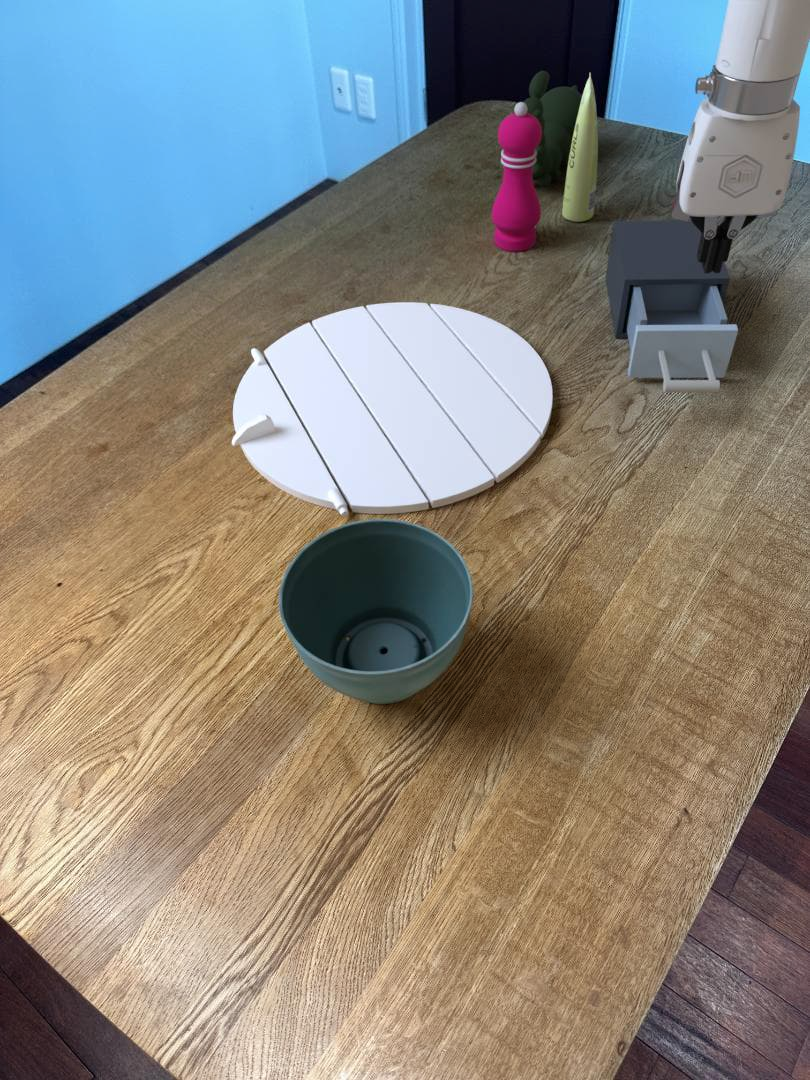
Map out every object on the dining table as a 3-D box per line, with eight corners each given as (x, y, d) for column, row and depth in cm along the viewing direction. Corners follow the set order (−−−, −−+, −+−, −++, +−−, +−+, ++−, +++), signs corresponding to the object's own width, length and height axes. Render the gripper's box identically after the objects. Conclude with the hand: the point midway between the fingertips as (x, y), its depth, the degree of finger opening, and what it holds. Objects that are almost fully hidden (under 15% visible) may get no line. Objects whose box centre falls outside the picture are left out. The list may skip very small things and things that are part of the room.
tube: (552, 213, 129) (563, 79, 115) (576, 203, 131) (590, 70, 116) (576, 226, 126) (590, 91, 111) (601, 216, 128) (618, 81, 113)
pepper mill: (482, 246, 124) (484, 107, 109) (506, 225, 127) (511, 88, 112) (523, 258, 121) (531, 117, 106) (547, 236, 124) (558, 97, 109)
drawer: (736, 416, 94) (751, 368, 88) (635, 416, 95) (644, 368, 89) (705, 314, 107) (717, 267, 102) (617, 315, 108) (625, 268, 103)
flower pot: (485, 605, 79) (487, 530, 71) (454, 755, 69) (453, 689, 61) (327, 581, 82) (311, 507, 74) (275, 722, 72) (250, 654, 64)
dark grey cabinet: (714, 338, 105) (730, 278, 99) (615, 338, 106) (624, 279, 100) (696, 277, 115) (709, 219, 108) (605, 278, 116) (613, 220, 109)
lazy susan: (286, 564, 84) (280, 543, 81) (193, 362, 108) (186, 340, 106) (616, 443, 93) (620, 420, 90) (462, 281, 117) (462, 260, 115)
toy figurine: (552, 213, 132) (597, 137, 145) (559, 93, 117) (609, 20, 130) (498, 205, 135) (547, 130, 148) (498, 87, 120) (552, 15, 133)
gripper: (677, 108, 74) (645, 287, 88) (847, 101, 73) (787, 283, 87) (664, 77, 79) (636, 251, 93) (824, 70, 78) (771, 247, 92)
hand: (709, 266), depth 90 cm, fingers closed
